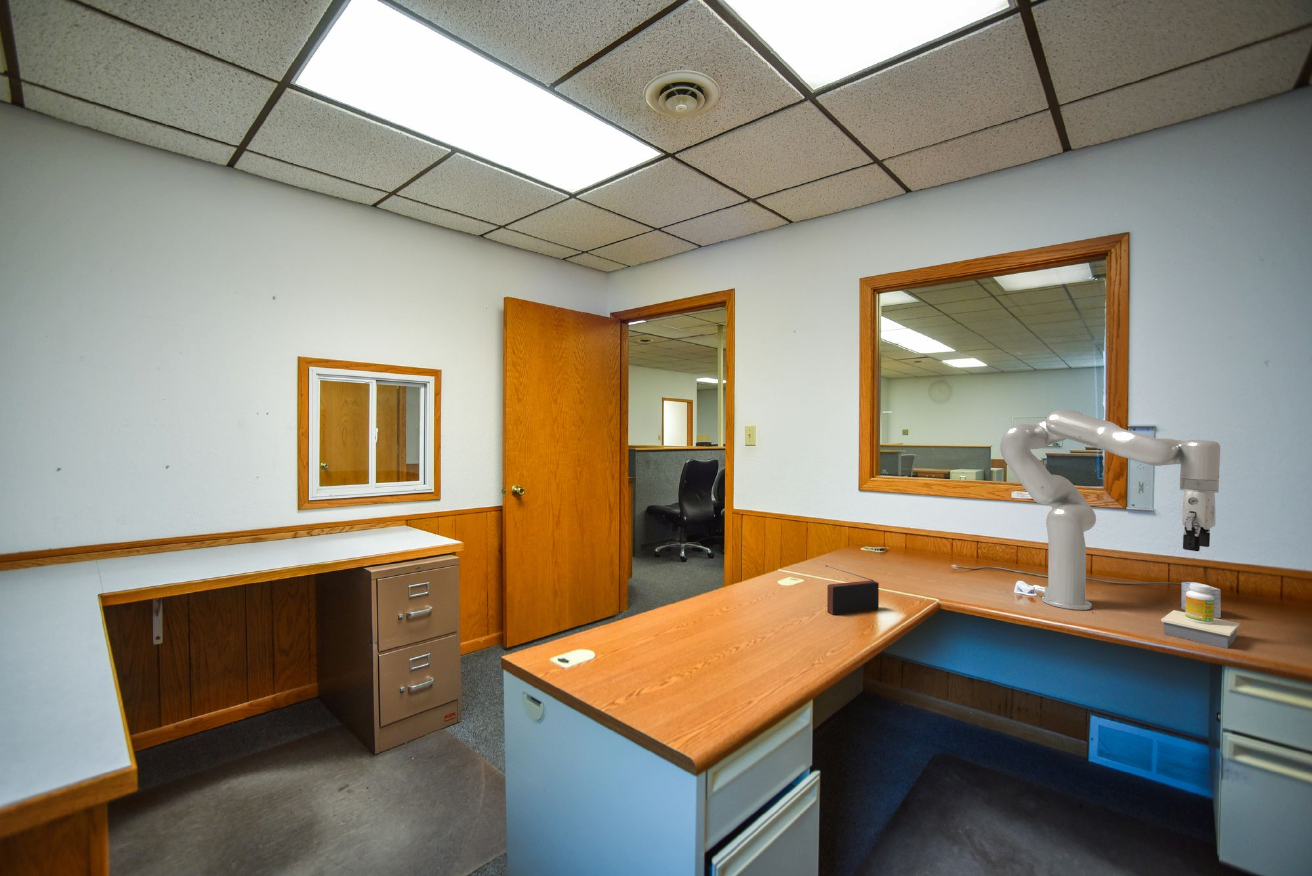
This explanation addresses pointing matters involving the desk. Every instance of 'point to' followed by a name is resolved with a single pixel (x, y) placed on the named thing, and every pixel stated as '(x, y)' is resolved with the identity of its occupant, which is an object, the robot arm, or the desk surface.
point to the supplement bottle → (1199, 604)
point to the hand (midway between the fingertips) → (1196, 548)
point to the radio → (852, 596)
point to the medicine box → (1214, 592)
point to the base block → (1200, 629)
